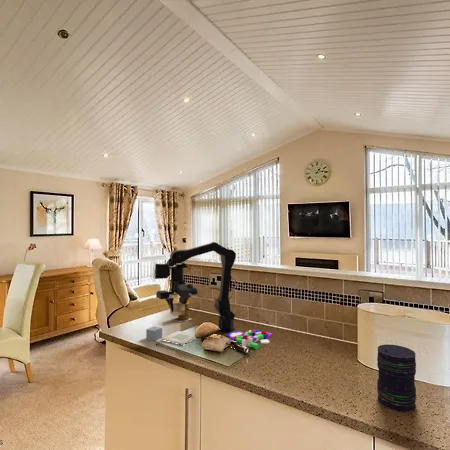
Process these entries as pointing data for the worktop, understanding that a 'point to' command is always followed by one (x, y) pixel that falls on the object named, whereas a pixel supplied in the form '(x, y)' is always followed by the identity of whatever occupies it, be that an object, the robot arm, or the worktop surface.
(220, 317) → the robot arm
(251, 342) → the building block set
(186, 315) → the condiment
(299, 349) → the worktop surface
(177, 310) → the oak block
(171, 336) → the plate
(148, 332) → the slate block
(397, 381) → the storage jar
